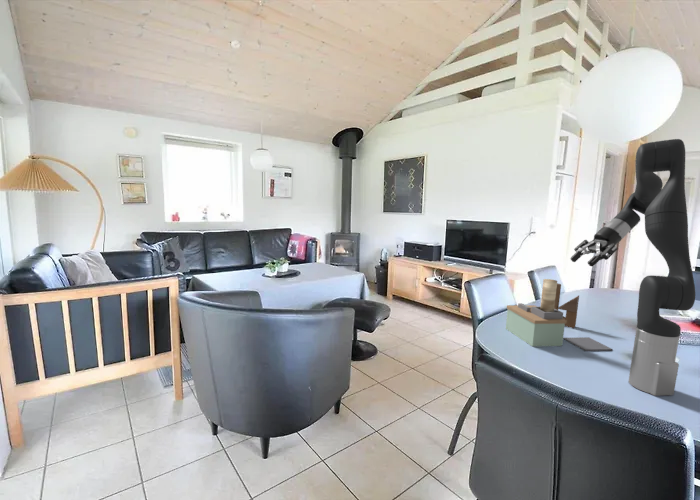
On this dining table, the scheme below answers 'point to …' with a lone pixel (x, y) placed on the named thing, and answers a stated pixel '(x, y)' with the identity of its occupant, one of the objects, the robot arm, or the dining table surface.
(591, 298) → the dining table surface
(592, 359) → the dining table surface
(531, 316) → the pale green box
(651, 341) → the robot arm
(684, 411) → the dining table surface
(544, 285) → the tan ridged cylinder
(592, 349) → the charcoal mat
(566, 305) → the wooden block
